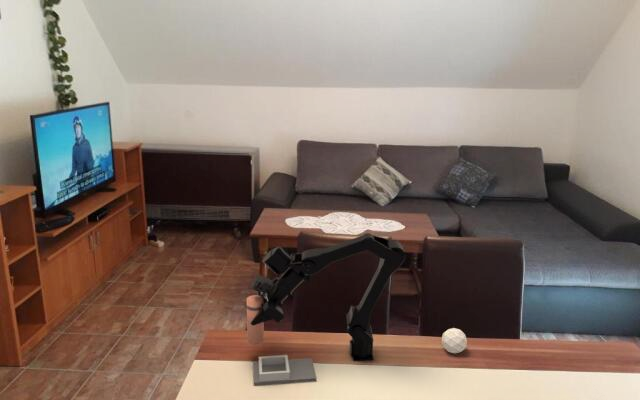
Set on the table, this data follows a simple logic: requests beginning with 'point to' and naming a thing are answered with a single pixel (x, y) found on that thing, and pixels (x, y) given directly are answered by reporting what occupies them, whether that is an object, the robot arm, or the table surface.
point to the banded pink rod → (253, 307)
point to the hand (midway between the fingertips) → (250, 320)
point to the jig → (282, 370)
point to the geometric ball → (454, 340)
